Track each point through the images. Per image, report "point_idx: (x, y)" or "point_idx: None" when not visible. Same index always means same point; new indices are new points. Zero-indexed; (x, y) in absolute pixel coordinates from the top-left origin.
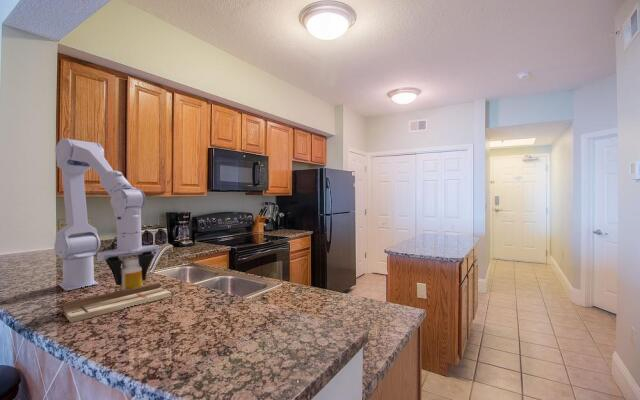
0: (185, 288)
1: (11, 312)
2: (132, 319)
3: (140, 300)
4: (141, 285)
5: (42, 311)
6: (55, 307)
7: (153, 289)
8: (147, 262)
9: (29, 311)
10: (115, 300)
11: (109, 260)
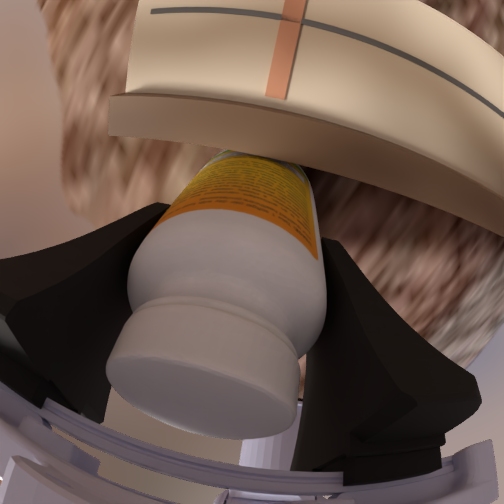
0: (54, 53)
1: (481, 351)
2: None
3: None
4: (202, 169)
5: (486, 305)
6: (459, 310)
7: (169, 89)
8: (54, 260)
9: (481, 330)
10: (422, 105)
11: (439, 439)
